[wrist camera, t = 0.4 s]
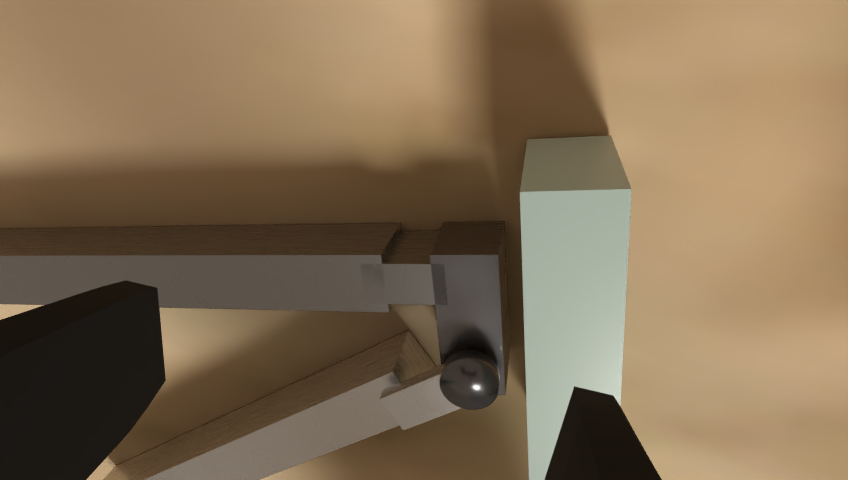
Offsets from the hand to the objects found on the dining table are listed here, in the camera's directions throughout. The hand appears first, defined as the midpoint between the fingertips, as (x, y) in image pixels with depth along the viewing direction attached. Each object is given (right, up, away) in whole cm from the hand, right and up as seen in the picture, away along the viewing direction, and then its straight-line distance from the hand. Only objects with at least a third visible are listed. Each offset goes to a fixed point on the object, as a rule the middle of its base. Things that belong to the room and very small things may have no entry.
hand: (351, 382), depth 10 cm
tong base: (-6, +1, +12) cm, 14 cm away
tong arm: (-5, -5, +14) cm, 16 cm away
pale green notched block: (+6, +1, +9) cm, 11 cm away
